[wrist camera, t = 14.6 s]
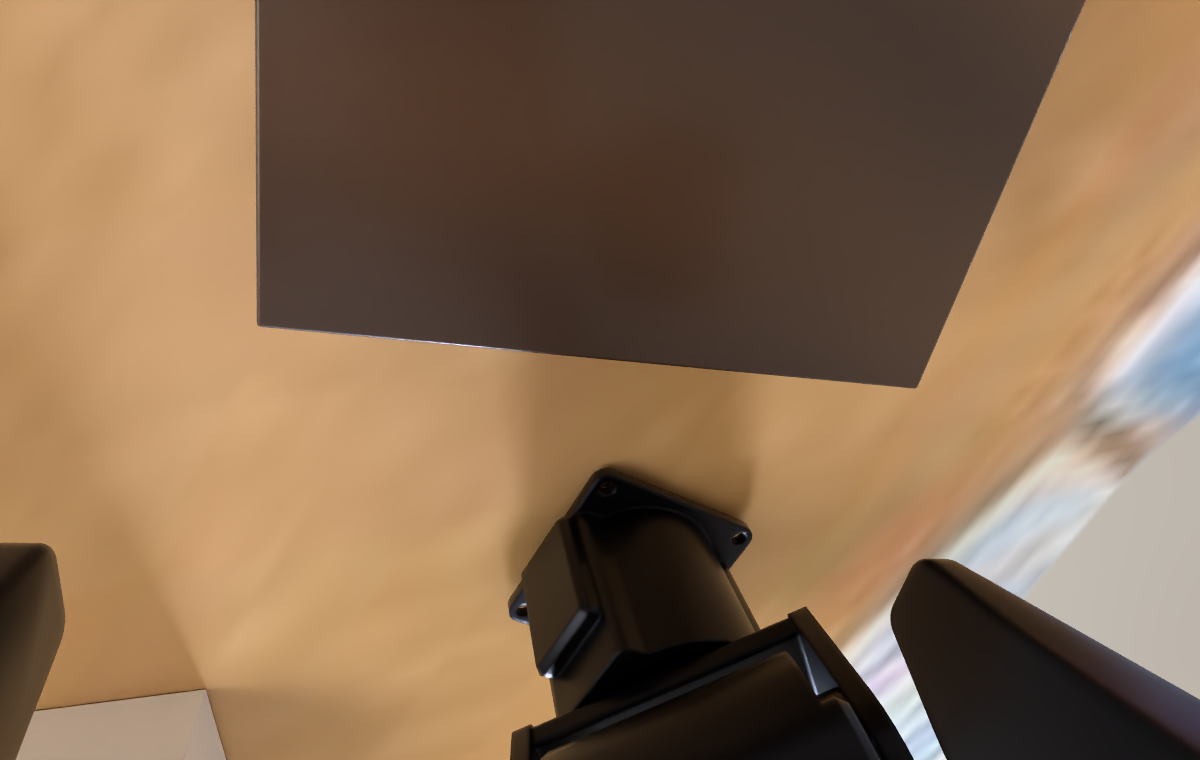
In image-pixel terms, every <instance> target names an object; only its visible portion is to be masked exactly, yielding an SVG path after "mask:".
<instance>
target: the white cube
mask: <svg viewBox="0 0 1200 760" xmlns="http://www.w3.org/2000/svg"><path fill="white" fill-rule="evenodd" d="M16 760H226V758H225V754H224V751H223V747H222V744H221V740H220V737H219V733H218V730H217V727H216V723H215V720H214V716H213V713H212V709H211V706H210V702H209V699H208V695H207V692H206V689H205V690H197V691H189V692H182V693H174V694H166V695H158V696H150V697H142V698H135V699H127V700H119V701H111V702H103V703H95V704H88V705H80V706H72V707H64V708H56V709H48V710H40V711H34V713H33V716H32V718H31V721H30V724H29V726H28V729H27V731H26V734H25V737H24V739H23V742H22V745H21V747H20V750H19V752H18V755H17V758H16Z"/></svg>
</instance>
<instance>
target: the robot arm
mask: <svg viewBox="0 0 1200 760" xmlns="http://www.w3.org/2000/svg"><path fill="white" fill-rule="evenodd" d="M605 482H612V483H611V485H609V486H608V487H605V488H602V487H600V486H601V485H602V484H603V483H605ZM739 533H740V534H739ZM736 534H739V535H738V536H737V537H733V536H735V535H736ZM751 540H752V533H751V531H750V529H749V528H748V526H747V524H746V523H744V522H743V521H741V520H738V519H736V518H733V517H731V516H728V515H726V514H723V513H721V512H718V511H716V510H713V509H711V508H708V507H706V506H703V505H701V504H698V503H696V502H693V501H691V500H688V499H686V498H683V497H681V496H678V495H676V494H673V493H671V492H668V491H666V490H663V489H661V488H658V487H656V486H653V485H651V484H648V483H646V482H643V481H641V480H638V479H636V478H633V477H631V476H628V475H626V474H623V473H621V472H618V471H616V470H613V469H609V468H605V469H600V470H598V471H596V472H595V473H594V474H593V475H592V476H591V478H590V479H589V481H588V482H587V484H586V485H585V487H584V488H583V490H582V491H581V493H580V494H579V496H578V497H577V499H576V500H575V502H574V503H573V505H572V506H571V508H570V509H569V511H568V512H567V514H566V515H565V517H563V518H561V519H559V520H558V521H557V522H556V523H555V524H554V526H553V527H552V529H551V530H550V532H549V533H548V535H547V536H546V538H545V539H544V541H543V543H542V544H541V546H540V547H539V549H538V550H537V552H536V553H535V555H534V556H533V558H532V559H531V561H530V562H529V564H528V565H527V567H526V568H525V570H524V571H523V573H522V581H521V582H520V584H519V585H518V587H517V588H516V590H515V591H514V593H513V594H512V596H511V597H510V599H509V602H508V607H509V614H510V617H511V618H512V619H513V620H515V621H518V622H521V623H525V624H528V625H530V632H531V638H532V644H533V650H534V656H535V662H536V667H537V669H538V672H539V674H540V676H544V677H548V678H549V679H550V684H551V690H552V696H553V701H554V707H555V712H556V718H554V719H551V720H549V721H547V722H544V723H542V724H540V725H537V726H535V727H533V726H532V725H528V726H526V727H523V728H521V729H519V730H516V731H514V732H512V739H511V755H510V760H914V759H913V757H912V755H911V753H910V751H909V750H908V748H907V746H906V744H905V742H904V741H903V739H902V737H901V736H900V734H899V732H898V730H897V729H896V727H895V725H894V724H893V722H892V721H891V719H890V717H889V716H888V714H887V713H886V711H885V710H884V708H883V706H882V705H881V704H880V702H879V701H878V700H877V698H876V697H875V695H874V694H873V693H872V691H871V690H870V689H869V687H868V686H867V685H866V684H865V682H864V681H863V680H862V678H861V677H860V676H859V674H858V673H857V672H856V671H855V669H854V668H853V667H852V665H851V664H850V663H849V662H848V660H847V659H846V658H845V656H844V655H843V654H842V653H841V651H840V650H839V649H838V647H837V646H836V645H835V644H834V642H833V641H832V640H831V638H830V637H829V636H828V634H827V633H826V632H825V631H824V629H823V628H822V627H821V625H820V624H819V623H818V622H817V620H816V619H815V618H814V616H813V615H812V614H811V613H810V611H809V610H808V609H807V607H803V608H801V609H799V610H796V611H794V612H792V613H789V614H788V618H787V619H784V620H782V621H780V622H777V623H775V624H773V625H770V626H768V627H766V628H763V629H761V630H760V628H759V626H758V624H757V622H756V620H755V618H754V616H753V615H752V613H751V611H750V609H749V607H748V605H747V603H746V601H745V599H744V597H743V595H742V594H741V592H740V590H739V588H738V586H737V584H736V582H735V580H734V578H733V576H732V575H731V573H730V571H729V569H730V567H731V566H732V565H733V564H734V562H735V561H736V560H737V559H738V557H739V556H740V555H741V553H742V552H743V551H744V550H745V548H746V547H747V546H748V545H749V543H750V541H751ZM523 605H526V607H524V608H519V607H520V606H523ZM64 625H65V609H64V603H63V597H62V590H61V584H60V578H59V572H58V565H57V559H56V555H55V553H54V551H53V549H52V548H51V547H49V546H48V545H46V544H42V543H0V760H16V758H17V755H18V752H19V750H20V747H21V745H22V742H23V739H24V737H25V734H26V731H27V729H28V726H29V724H30V721H31V718H32V716H33V713H34V710H35V708H36V705H37V703H38V700H39V697H40V695H41V692H42V689H43V687H44V684H45V682H46V679H47V676H48V674H49V671H50V669H51V666H52V663H53V661H54V658H55V655H56V653H57V650H58V648H59V645H60V642H61V639H62V635H63V631H64ZM891 626H892V630H893V633H894V635H895V637H896V640H897V642H898V645H899V647H900V650H901V652H902V654H903V657H904V659H905V662H906V664H907V667H908V669H909V671H910V674H911V676H912V679H913V681H914V684H915V686H916V689H917V691H918V693H919V696H920V698H921V701H922V703H923V706H924V708H925V710H926V713H927V715H928V718H929V720H930V723H931V725H932V728H933V730H934V732H935V735H936V737H937V739H938V741H939V744H940V746H941V748H942V751H943V753H944V755H945V757H946V759H947V760H1200V700H1199V699H1198V698H1196V697H1194V696H1192V695H1191V694H1189V693H1187V692H1185V691H1184V690H1182V689H1180V688H1178V687H1176V686H1174V685H1173V684H1171V683H1169V682H1168V681H1166V680H1164V679H1162V678H1161V677H1159V676H1157V675H1155V674H1153V673H1151V672H1150V671H1148V670H1146V669H1145V668H1143V667H1141V666H1139V665H1138V664H1136V663H1134V662H1132V661H1130V660H1129V659H1127V658H1125V657H1123V656H1122V655H1120V654H1118V653H1116V652H1115V651H1113V650H1111V649H1109V648H1108V647H1106V646H1104V645H1102V644H1101V643H1099V642H1097V641H1095V640H1093V639H1092V638H1090V637H1088V636H1086V635H1085V634H1083V633H1081V632H1079V631H1078V630H1076V629H1074V628H1072V627H1071V626H1069V625H1067V624H1065V623H1063V622H1061V621H1060V620H1058V619H1056V618H1055V617H1053V616H1051V615H1049V614H1047V613H1046V612H1044V611H1042V610H1040V609H1038V608H1037V607H1035V606H1033V605H1031V604H1030V603H1028V602H1026V601H1025V600H1023V599H1021V598H1019V597H1018V596H1016V595H1014V594H1012V593H1010V592H1009V591H1007V590H1005V589H1003V588H1002V587H1000V586H998V585H996V584H995V583H993V582H991V581H989V580H988V579H986V578H984V577H982V576H980V575H979V574H977V573H975V572H973V571H972V570H970V569H968V568H966V567H965V566H963V565H961V564H959V563H957V562H955V561H953V560H949V559H922V560H919V561H918V562H916V563H915V564H914V565H913V566H912V568H911V570H910V572H909V574H908V576H907V578H906V580H905V582H904V584H903V586H902V588H901V590H900V592H899V594H898V596H897V598H896V600H895V602H894V604H893V607H892V610H891Z"/></svg>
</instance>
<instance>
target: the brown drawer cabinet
mask: <svg viewBox="0 0 1200 760" xmlns="http://www.w3.org/2000/svg"><path fill="white" fill-rule="evenodd" d="M1084 3H1085V0H255V67H256V256H257V324H258V326H260V327H269V328H279V329H290V330H300V331H311V332H322V333H332V334H343V335H353V336H364V337H375V338H385V339H396V340H406V341H417V342H428V343H438V344H449V345H459V346H470V347H481V348H491V349H502V350H512V351H523V352H534V353H544V354H555V355H565V356H576V357H587V358H597V359H608V360H618V361H629V362H640V363H650V364H661V365H671V366H682V367H693V368H703V369H714V370H725V371H735V372H746V373H756V374H767V375H778V376H788V377H799V378H809V379H820V380H831V381H841V382H852V383H862V384H873V385H884V386H894V387H905V388H917V386H918V384H919V382H920V380H921V377H922V375H923V373H924V370H925V368H926V366H927V363H928V361H929V359H930V357H931V354H932V352H933V350H934V347H935V345H936V343H937V340H938V338H939V336H940V334H941V331H942V329H943V327H944V324H945V322H946V320H947V317H948V315H949V313H950V311H951V308H952V306H953V304H954V301H955V299H956V297H957V295H958V292H959V290H960V288H961V285H962V283H963V281H964V278H965V276H966V274H967V272H968V269H969V267H970V265H971V262H972V260H973V258H974V255H975V253H976V251H977V249H978V246H979V244H980V242H981V239H982V237H983V235H984V232H985V230H986V228H987V226H988V223H989V221H990V219H991V216H992V214H993V212H994V210H995V207H996V205H997V203H998V200H999V198H1000V196H1001V193H1002V191H1003V189H1004V187H1005V184H1006V182H1007V180H1008V177H1009V175H1010V173H1011V170H1012V168H1013V166H1014V164H1015V161H1016V159H1017V157H1018V154H1019V152H1020V150H1021V147H1022V145H1023V143H1024V141H1025V138H1026V136H1027V134H1028V131H1029V129H1030V127H1031V125H1032V122H1033V120H1034V118H1035V115H1036V113H1037V111H1038V108H1039V106H1040V104H1041V102H1042V99H1043V97H1044V95H1045V92H1046V90H1047V88H1048V85H1049V83H1050V81H1051V79H1052V76H1053V74H1054V72H1055V69H1056V67H1057V65H1058V63H1059V60H1060V58H1061V56H1062V53H1063V51H1064V49H1065V46H1066V44H1067V42H1068V40H1069V37H1070V35H1071V33H1072V30H1073V28H1074V26H1075V23H1076V21H1077V19H1078V17H1079V14H1080V12H1081V10H1082V7H1083V5H1084Z"/></svg>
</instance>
